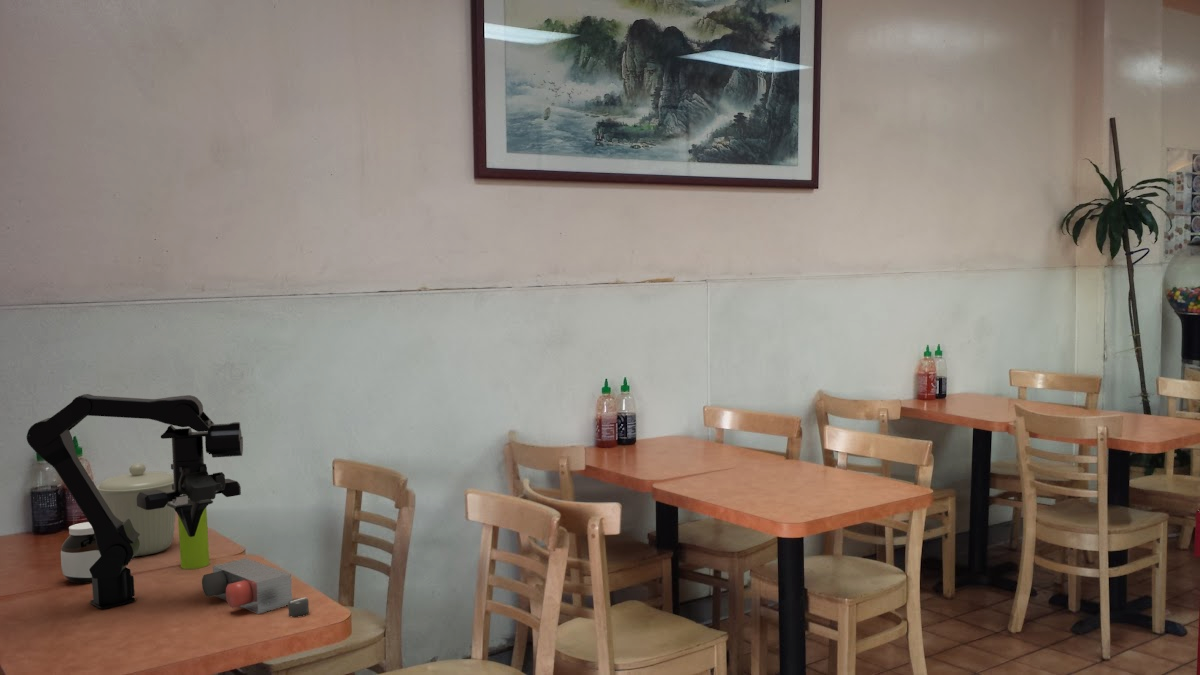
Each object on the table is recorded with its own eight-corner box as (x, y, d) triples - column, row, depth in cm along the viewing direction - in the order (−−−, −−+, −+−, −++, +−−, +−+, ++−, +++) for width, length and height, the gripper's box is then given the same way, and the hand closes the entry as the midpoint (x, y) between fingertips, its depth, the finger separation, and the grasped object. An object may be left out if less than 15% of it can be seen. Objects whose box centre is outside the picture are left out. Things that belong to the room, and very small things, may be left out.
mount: (258, 614, 187) (256, 582, 186) (214, 595, 199) (212, 566, 199) (292, 604, 192) (290, 573, 191) (247, 587, 204) (245, 558, 204)
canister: (199, 546, 239) (194, 459, 237) (129, 565, 223) (123, 472, 222) (154, 538, 248) (149, 454, 247) (83, 556, 233) (78, 466, 232)
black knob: (212, 599, 192) (211, 576, 192) (202, 594, 195) (201, 572, 195) (270, 584, 201) (269, 562, 201) (259, 580, 204) (258, 559, 204)
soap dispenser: (171, 569, 219) (166, 479, 218) (195, 560, 226) (190, 473, 225) (192, 571, 217) (186, 480, 216) (215, 562, 223) (210, 474, 222)
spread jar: (77, 587, 208) (73, 532, 207) (47, 580, 214) (44, 527, 213) (130, 572, 218) (127, 519, 217) (100, 566, 224) (97, 514, 223)
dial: (295, 618, 184) (294, 603, 183) (285, 614, 186) (284, 600, 186) (312, 613, 186) (311, 599, 186) (302, 609, 189) (302, 595, 188)
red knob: (237, 609, 186) (235, 586, 185) (226, 605, 189) (225, 582, 188) (295, 593, 194) (294, 571, 194) (284, 589, 197) (283, 567, 197)
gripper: (154, 470, 187) (158, 552, 187) (250, 457, 199) (254, 534, 200) (133, 463, 195) (137, 542, 195) (227, 451, 207) (230, 525, 208)
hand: (191, 536), depth 200 cm, fingers closed
